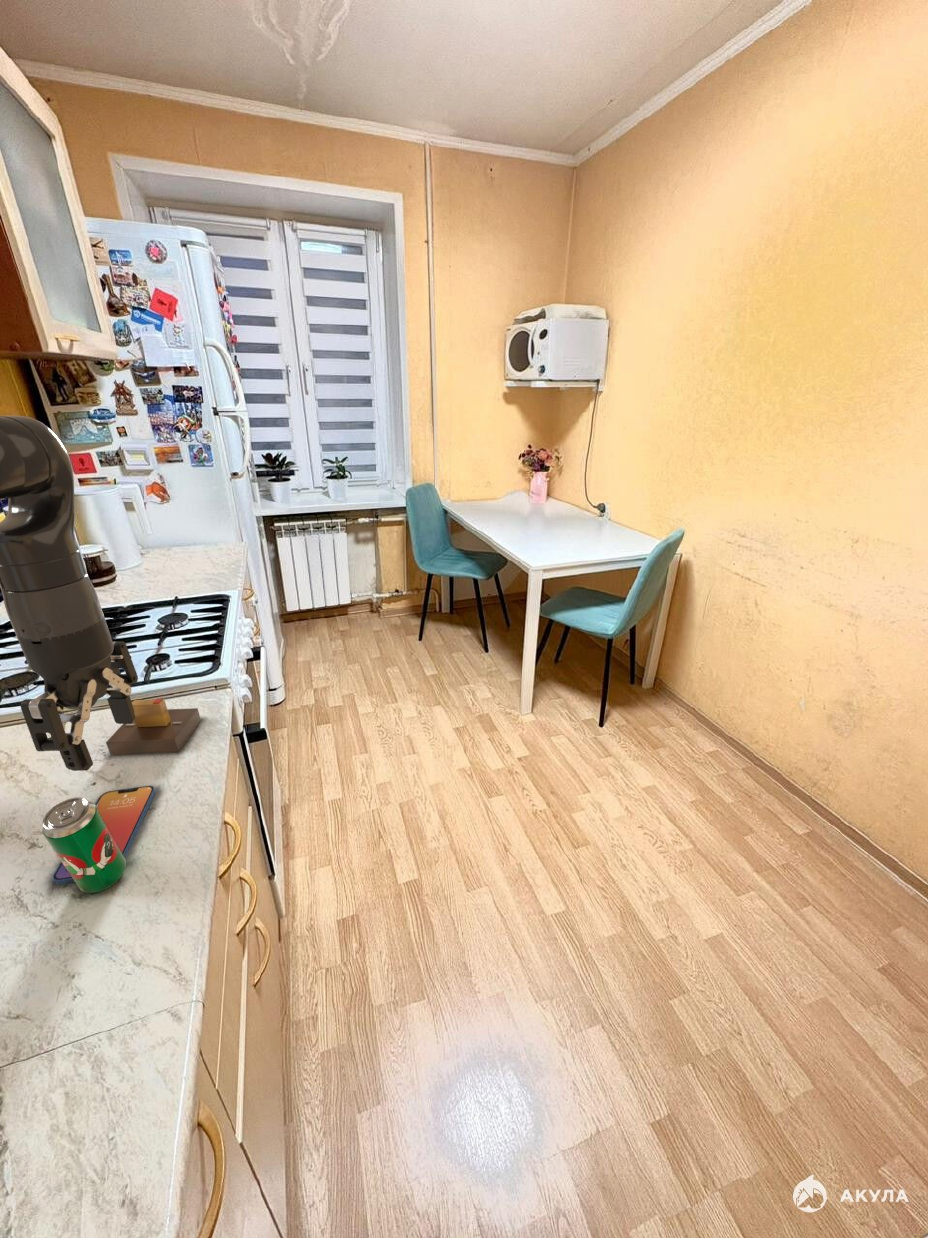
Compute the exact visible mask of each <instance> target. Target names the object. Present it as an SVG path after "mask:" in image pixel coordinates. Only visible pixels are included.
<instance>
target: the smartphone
mask: <svg viewBox="0 0 928 1238" xmlns="http://www.w3.org/2000/svg"><path fill="white" fill-rule="evenodd" d="M155 795H156V789H155V787H154V786H153V785H143V786H136V787H129V788H123V789H116V790H109V791H106V792H104V793H102V794H101V795H100V796H99V797H98V799H97V800H96V802H95V803H94V804H95V805H96V807H97V809H98V810H99V812H100V814H101V816H102V818H103V820H104V821H105V823H106V825H107V827H108V829H109V830H110V832H111V834H112V836H113V838H114V839H115V841H116V843H117V845H118V847H119V849H120V850H121V852H122V854H123V856H124V858H125V859H126V857H127V856H128V854H129V851H130V849H131V847H132V845H133V843H134V841H135V838H136V837H137V835H138V832H139V830H140V828H141V825H142V823H143V821H144V819H145V817H146V815H147V812H148V810H149V808H150V806H151V804H152V802H153V799H154V797H155ZM52 879H53V882H54V884H57V885H64V884H70V883H75V881H74V880H73V878H72V877H71V875H70V874H69V872H68V871H67V869H66V868H65V866H64V865H63V863H62V862H61V861H60V863H59V865H58V867H57V868H56V870H55V872H54V873H53V876H52Z"/></svg>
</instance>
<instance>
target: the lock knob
mask: <svg viewBox="0 0 928 1238" xmlns="http://www.w3.org/2000/svg"><path fill="white" fill-rule="evenodd" d="M131 702H132V705H133V708H134V714H135V717H136V719H135V720H134V721H135V724H136V727H156V726H167V725H168V724H169V722H170V721H171V720H170V716H169V713H168V710H167V709H168V707H167V704H166V700H165V699H164V698H162V697H161V698H156V699H135V700H133V701H131Z"/></svg>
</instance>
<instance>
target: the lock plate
mask: <svg viewBox="0 0 928 1238" xmlns="http://www.w3.org/2000/svg"><path fill="white" fill-rule="evenodd" d="M167 710H168V713H169V716H170V720H171V721H170V722H169V724H168V725H167V726H156V727H136V724H135V721H133V722H132V723H131V724H121V725H120V726H119V727H118V729H117V730H116V731H115V732H114V733H113V734H112V735H111V736H110V737H109V738H108V740H107V741H105V744H106V747H107V749H108V752H109V755H110V756H127V755H128V756H129V755H130V756H131V755H149V754H151V755H153V754H171V753H172V754H173V753H180V752H181V750H182V748H183V747H184V745H185V744H186V743H187V741H188V740H189V738H190V737H191V735H192V734H193V732H194V731H195V730H196V728H197V727H198V726H199V724H200V723H201V721H202V719H201V715H200V712H199V708H198V707H191V708H171V709H170V708H167Z"/></svg>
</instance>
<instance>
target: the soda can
mask: <svg viewBox="0 0 928 1238" xmlns="http://www.w3.org/2000/svg"><path fill="white" fill-rule="evenodd" d="M95 804H96V803H94V802H92V801H90V800H88V799H87V798H85V797H81V796H79V797H71V798H67V799H65V800H62V801H61V802H59V803H57V804H56V805H54V806H53V807H51V809H49V810H48V812H47V813H46V814H45V815H44V816H43V819H42V835H43V836H44V838H45V839H46V841H47V842H48V844H49V845H50V846H51V849H52V850H53V851H54V853H55V855H56V856H57V857H58V858H59V860H60V863H61V862H62V863H63V865H64V866H65V868H66V869H67V871H68V872H69V874H70V875H71V877H72V878H73V880H74V881H75V882H74V883H75V884H76V886H77V887H78V889H79V890H80V891H81V892H83V893H86V894H94V893H99V892H102V891H104V890H106V889H109V888H111V886H113V885H115V883H117V882H118V881H119V879H120V878H121V877H122V876H123V874H124V873H125V870H126V867H127V860H126V857H125V858H124V856H123V854H122V852H121V850H120V849H119V847H118V845H117V843H116V841H115V839H114V838H113V836H112V834H111V832H110V830H109V829H108V827H107V825H106V823H105V821H104V820H103V818H102V816H101V814H100V812H99V810H98V809H97V807H96V805H95Z"/></svg>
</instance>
